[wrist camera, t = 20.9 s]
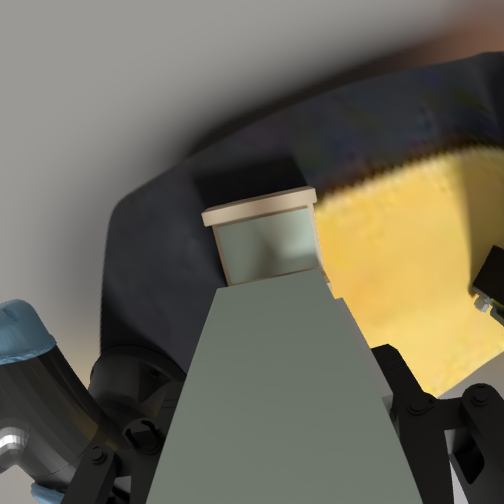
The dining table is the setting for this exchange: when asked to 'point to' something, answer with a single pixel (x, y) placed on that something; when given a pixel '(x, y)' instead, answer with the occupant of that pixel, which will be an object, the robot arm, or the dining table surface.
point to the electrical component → (491, 285)
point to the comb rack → (267, 236)
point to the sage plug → (280, 408)
